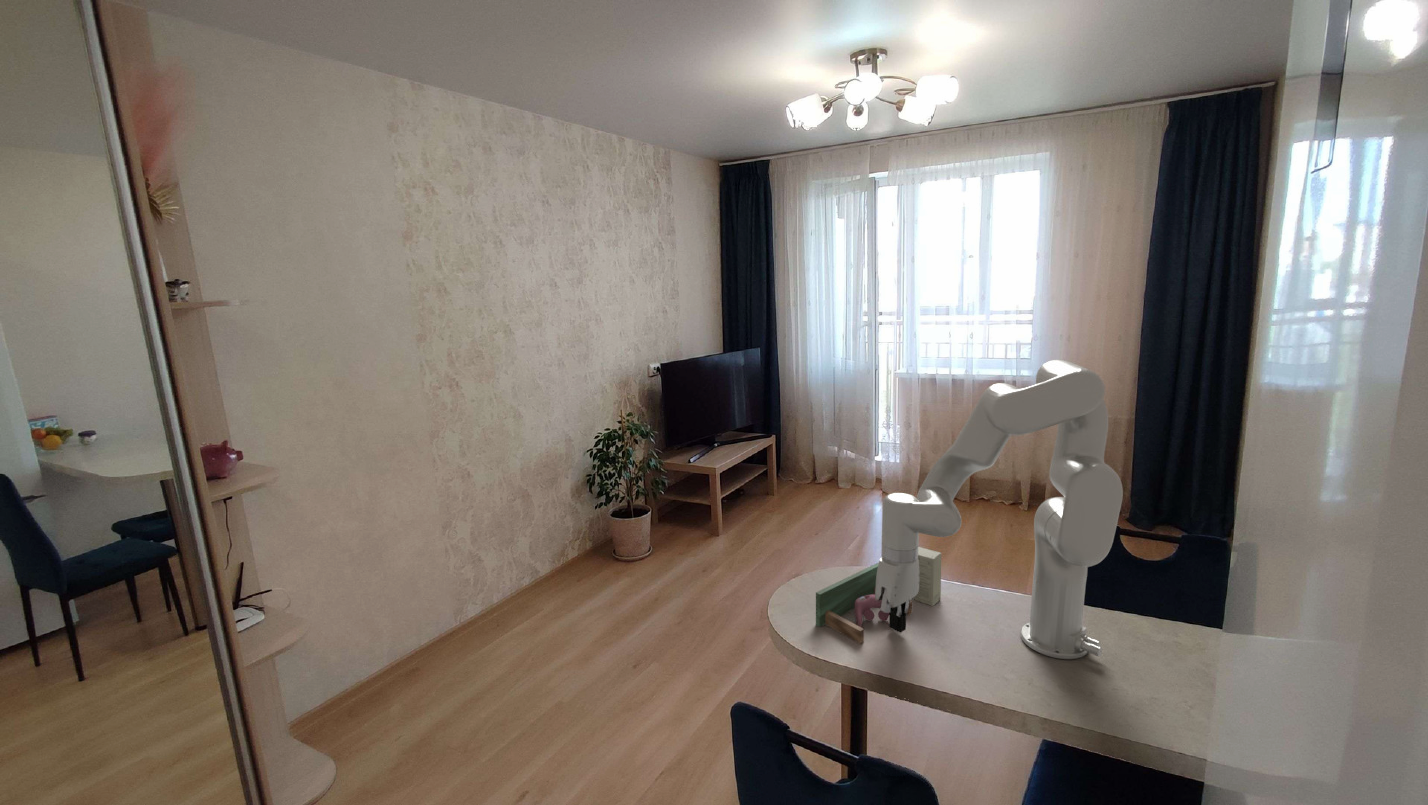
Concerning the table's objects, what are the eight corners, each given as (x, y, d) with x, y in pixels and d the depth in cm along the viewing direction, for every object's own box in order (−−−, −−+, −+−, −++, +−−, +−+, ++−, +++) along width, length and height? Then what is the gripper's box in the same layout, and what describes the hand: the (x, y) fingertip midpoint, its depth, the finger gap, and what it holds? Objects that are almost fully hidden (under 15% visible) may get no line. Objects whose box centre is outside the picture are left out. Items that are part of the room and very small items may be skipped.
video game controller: (897, 626, 143) (895, 594, 145) (902, 628, 139) (899, 595, 140) (853, 625, 144) (852, 594, 146) (856, 627, 139) (855, 594, 141)
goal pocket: (916, 610, 146) (917, 579, 145) (854, 646, 133) (855, 612, 132) (877, 592, 155) (878, 562, 153) (815, 624, 142) (815, 592, 140)
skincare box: (941, 599, 151) (943, 552, 148) (932, 607, 148) (934, 559, 145) (916, 590, 155) (918, 545, 153) (907, 597, 152) (909, 551, 149)
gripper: (905, 535, 141) (903, 610, 145) (863, 556, 132) (861, 634, 136) (935, 546, 135) (932, 623, 139) (892, 568, 126) (890, 649, 130)
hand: (897, 628), depth 137 cm, fingers closed
